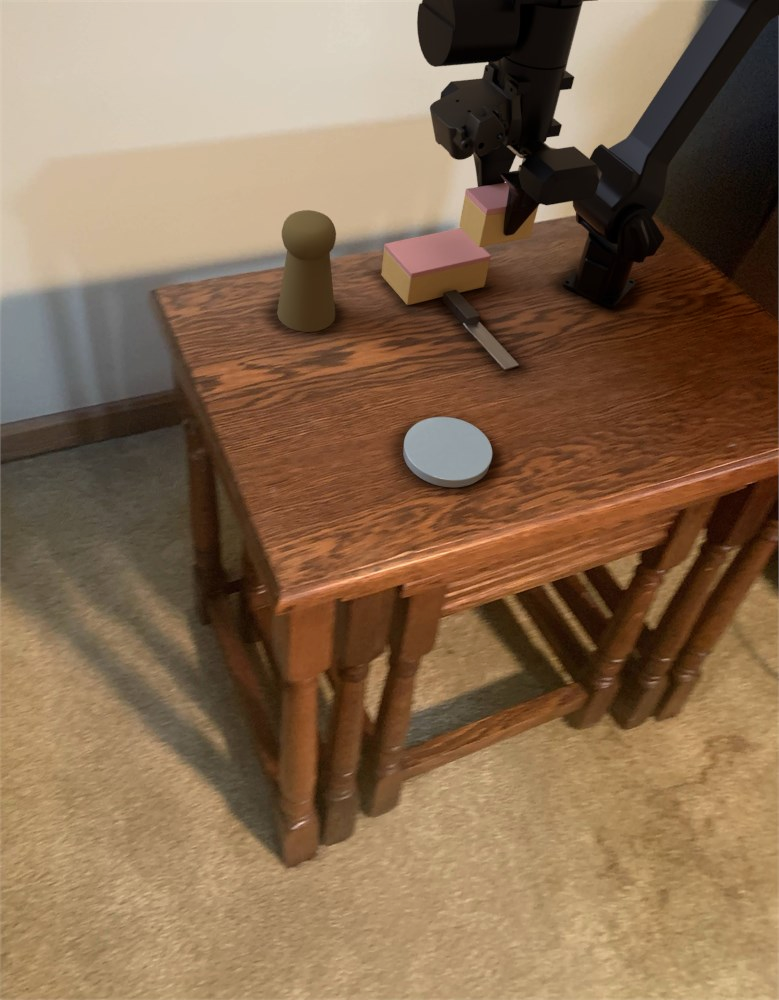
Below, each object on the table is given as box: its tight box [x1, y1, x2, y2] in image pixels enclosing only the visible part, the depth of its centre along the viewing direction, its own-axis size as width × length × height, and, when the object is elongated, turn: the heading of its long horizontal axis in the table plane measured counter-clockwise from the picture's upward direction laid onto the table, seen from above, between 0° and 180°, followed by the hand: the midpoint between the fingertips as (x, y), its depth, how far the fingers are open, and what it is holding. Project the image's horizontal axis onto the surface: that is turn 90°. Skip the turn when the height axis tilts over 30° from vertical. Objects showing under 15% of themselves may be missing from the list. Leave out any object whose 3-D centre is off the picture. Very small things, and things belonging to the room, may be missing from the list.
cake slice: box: [458, 182, 539, 248], centre depth 82 cm, size 4×6×4 cm, turn 117°
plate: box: [402, 416, 493, 488], centre depth 75 cm, size 8×8×1 cm
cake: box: [381, 227, 492, 306], centre depth 92 cm, size 6×10×4 cm, turn 118°
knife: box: [442, 290, 520, 372], centre depth 88 cm, size 2×12×1 cm, turn 28°
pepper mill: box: [276, 209, 337, 333], centre depth 83 cm, size 6×6×11 cm
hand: (496, 222), depth 82 cm, fingers closed on cake slice, 4 cm apart
